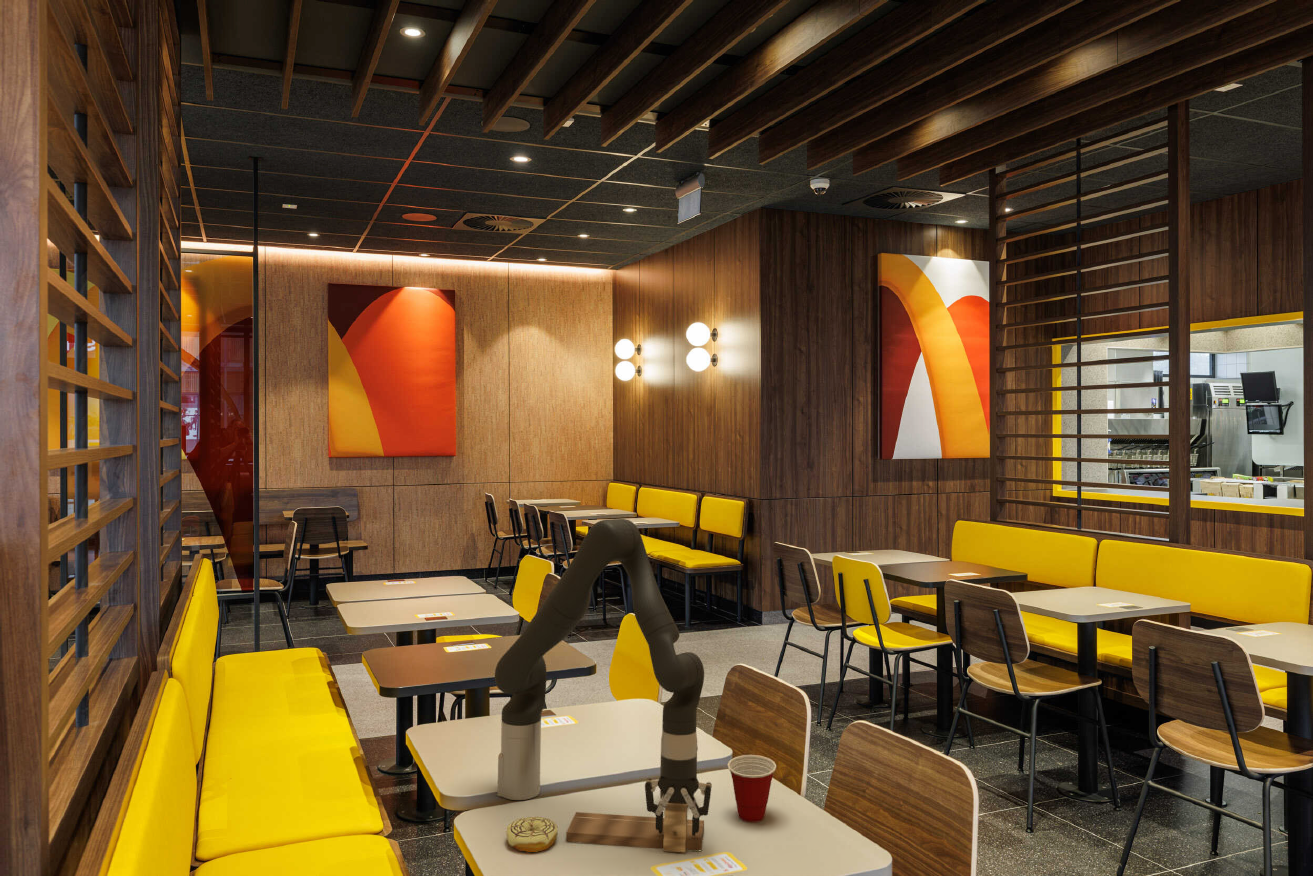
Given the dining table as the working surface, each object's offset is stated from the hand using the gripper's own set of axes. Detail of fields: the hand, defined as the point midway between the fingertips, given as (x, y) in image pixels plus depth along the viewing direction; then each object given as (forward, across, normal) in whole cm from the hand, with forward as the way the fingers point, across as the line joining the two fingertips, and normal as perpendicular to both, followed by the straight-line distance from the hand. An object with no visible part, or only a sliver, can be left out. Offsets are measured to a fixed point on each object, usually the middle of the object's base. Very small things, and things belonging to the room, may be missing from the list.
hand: (677, 832), depth 183 cm
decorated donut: (+3, -30, -2) cm, 30 cm away
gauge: (+2, 0, +2) cm, 3 cm away
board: (+3, -9, +4) cm, 10 cm away
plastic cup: (+3, +15, +16) cm, 23 cm away
